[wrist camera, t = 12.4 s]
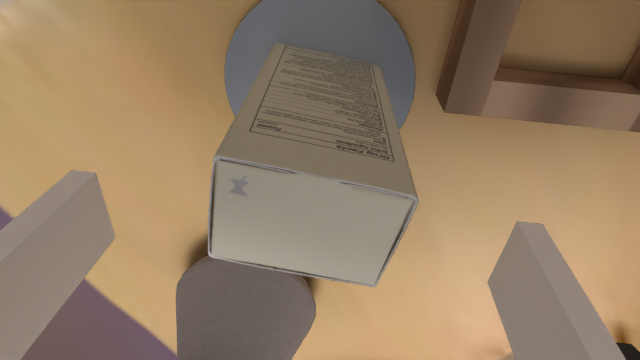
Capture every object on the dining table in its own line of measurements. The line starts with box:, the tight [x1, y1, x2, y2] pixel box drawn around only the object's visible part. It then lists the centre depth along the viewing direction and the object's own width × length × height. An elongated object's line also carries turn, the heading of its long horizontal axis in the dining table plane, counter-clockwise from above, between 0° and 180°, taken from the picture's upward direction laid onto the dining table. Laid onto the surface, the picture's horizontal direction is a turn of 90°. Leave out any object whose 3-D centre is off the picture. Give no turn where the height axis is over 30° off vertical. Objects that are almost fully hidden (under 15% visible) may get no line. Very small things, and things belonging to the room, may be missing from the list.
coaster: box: [225, 0, 415, 130], centre depth 22 cm, size 11×11×1 cm
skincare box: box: [208, 43, 418, 287], centre depth 17 cm, size 6×4×12 cm
